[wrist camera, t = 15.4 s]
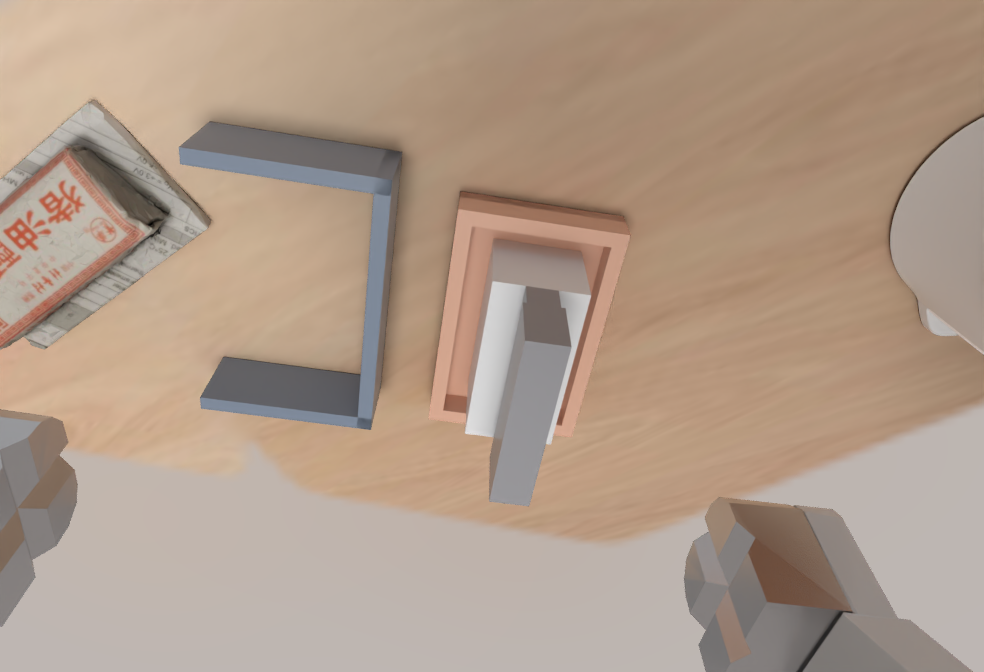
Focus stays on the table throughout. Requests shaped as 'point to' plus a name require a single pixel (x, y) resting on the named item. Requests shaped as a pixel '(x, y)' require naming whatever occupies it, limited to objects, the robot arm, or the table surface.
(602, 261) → the terracotta tray
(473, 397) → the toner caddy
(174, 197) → the packaged product
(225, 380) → the slate bay
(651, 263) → the table surface
